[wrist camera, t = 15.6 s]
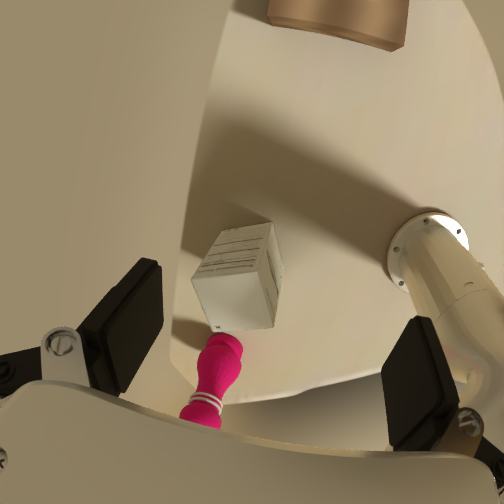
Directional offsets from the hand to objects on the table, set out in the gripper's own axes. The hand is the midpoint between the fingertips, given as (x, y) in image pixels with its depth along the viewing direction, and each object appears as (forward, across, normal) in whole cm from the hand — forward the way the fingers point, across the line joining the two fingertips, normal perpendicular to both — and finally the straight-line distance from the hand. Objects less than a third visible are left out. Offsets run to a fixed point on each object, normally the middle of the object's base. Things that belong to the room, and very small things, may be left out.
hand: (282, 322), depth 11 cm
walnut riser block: (+28, -1, -23) cm, 36 cm away
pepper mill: (+28, +6, +33) cm, 44 cm away
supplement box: (+28, +4, +13) cm, 32 cm away
